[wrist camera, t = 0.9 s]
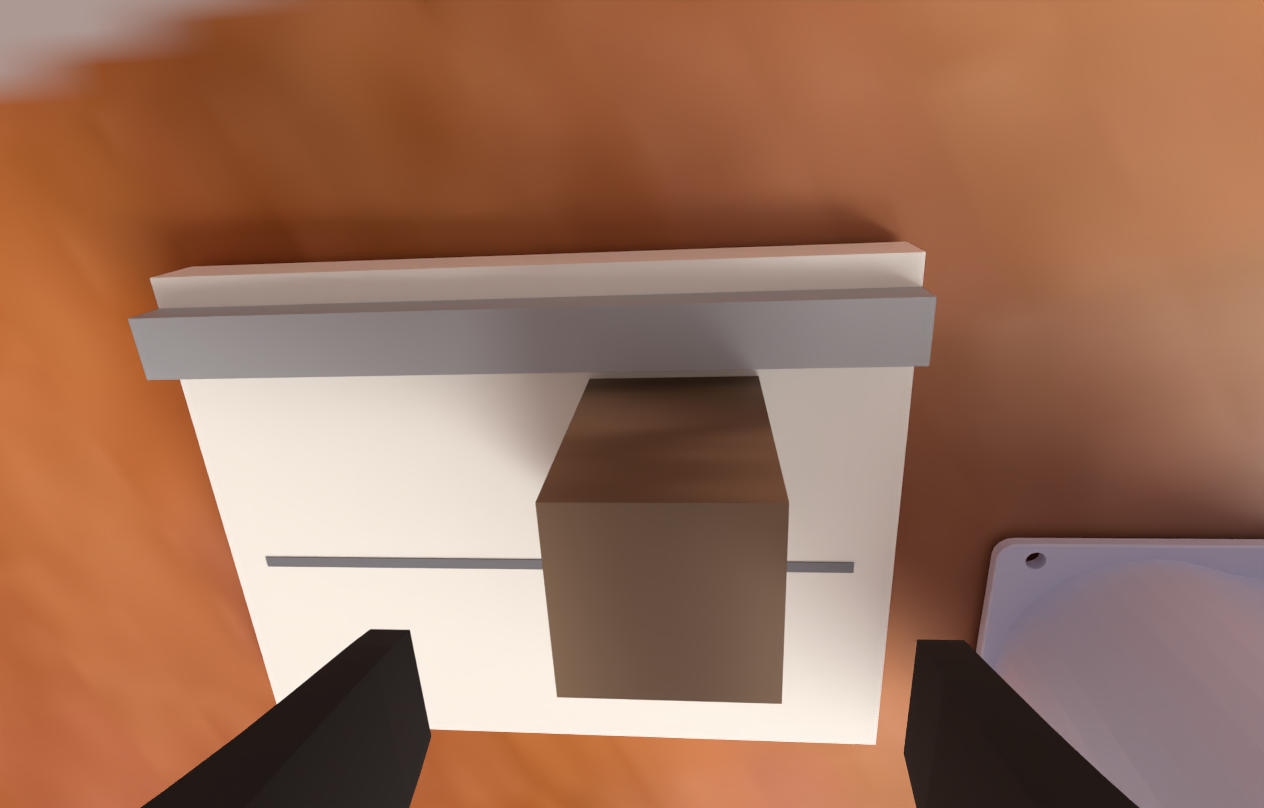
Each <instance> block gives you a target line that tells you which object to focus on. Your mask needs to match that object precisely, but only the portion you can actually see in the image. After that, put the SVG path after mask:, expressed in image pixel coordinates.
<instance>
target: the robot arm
mask: <svg viewBox="0 0 1264 808" xmlns="http://www.w3.org/2000/svg"><path fill="white" fill-rule="evenodd" d="M1037 552H1038V553H1039V555H1038V557H1037V558H1035V559H1034V560H1031V561H1026V559H1027V557H1028V556H1029V555H1031V554H1032V553H1037ZM430 739H431V732H430V727H429V722H428V717H427V712H426V708H425V703H424V698H423V693H422V688H421V683H420V678H419V673H418V668H417V663H416V658H415V653H414V648H413V643H412V638H411V633H410V630H395V629H370V630H368V631H367V632H366V633H364V634H363V635H362V636H360V637H359V638H358V639H357V640H355V641H354V642H353V643H351V644H350V645H349V646H348V647H346V648H345V649H344V650H343V651H341V652H340V653H339V654H338V655H337V656H335V657H334V658H333V659H332V660H330V661H329V662H328V663H327V664H326V665H324V666H323V667H322V668H321V669H319V670H318V671H317V672H316V673H315V674H313V675H312V676H311V677H310V678H309V679H307V680H306V681H305V682H304V683H302V684H301V685H300V686H299V687H298V688H296V689H295V690H294V691H293V692H291V693H290V694H289V695H288V696H286V697H285V698H284V699H283V700H282V701H280V702H279V703H278V704H277V705H275V706H274V707H273V708H272V709H270V710H269V711H268V712H267V713H265V714H264V715H263V716H262V717H260V718H259V719H258V720H257V721H255V722H254V723H253V724H252V725H250V726H249V727H248V728H247V729H246V730H244V731H243V732H242V733H240V734H239V735H238V736H237V737H235V738H234V739H233V740H231V741H230V742H229V743H227V744H226V745H225V746H223V747H222V748H221V749H219V750H218V751H217V752H215V753H214V754H213V755H211V756H210V757H209V758H207V759H206V760H205V761H203V762H202V763H201V764H199V765H198V766H197V767H195V768H194V769H193V770H191V771H190V772H189V773H187V774H186V775H185V776H183V777H182V778H181V779H179V780H178V781H177V782H175V783H174V784H173V785H171V786H170V787H169V788H167V789H166V790H165V791H163V792H162V793H161V794H159V795H158V796H156V797H155V798H153V799H152V800H151V801H149V802H148V803H146V804H145V805H144V806H142V807H141V808H409V807H410V803H411V800H412V797H413V794H414V791H415V788H416V785H417V782H418V779H419V776H420V773H421V769H422V766H423V762H424V759H425V756H426V752H427V749H428V746H429V742H430ZM904 756H905V760H906V765H907V769H908V773H909V778H910V782H911V786H912V791H913V795H914V799H915V803H916V807H917V808H1264V539H1145V538H1009V539H1005V540H1003V541H1001V542H999V543H998V544H997V545H996V546H995V547H994V549H993V551H992V555H991V561H990V567H989V573H988V579H987V586H986V592H985V598H984V604H983V611H982V617H981V623H980V629H979V636H978V642H977V648H976V652H975V651H974V650H973V649H972V648H971V647H970V646H969V645H968V644H967V643H966V642H965V641H964V640H917V647H916V655H915V664H914V672H913V680H912V688H911V697H910V705H909V713H908V722H907V730H906V738H905V747H904Z"/></svg>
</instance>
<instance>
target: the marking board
mask: <svg viewBox="0 0 1264 808" xmlns="http://www.w3.org/2000/svg"><path fill="white" fill-rule="evenodd" d="M925 256H926V252H925V251H923V250H921V249H920V248H918V247H916V246H914V245H912V244H910V243H908V242H879V243H851V244H822V245H794V246H765V247H736V248H708V249H679V250H651V251H622V252H593V253H565V254H536V255H508V256H479V257H450V258H422V259H393V260H365V261H336V262H307V263H279V264H250V265H222V266H193V267H188V268H184V269H181V270H177V271H173V272H170V273H166V274H162V275H159V276H155V277H151V278H150V281H151V284H152V288H153V291H154V294H155V298H156V301H157V304H158V308H159V309H156V310H153V311H150V312H147V313H144V314H141V315H138V316H135V317H132V318H129V319H128V321H129V324H130V327H131V330H132V334H133V337H134V340H135V343H136V346H137V349H138V353H139V356H140V359H141V362H142V365H143V368H144V372H145V375H146V378H147V380H179V379H180V381H181V385H182V388H183V391H184V395H185V398H186V401H187V405H188V408H189V412H190V415H191V418H192V422H193V425H194V428H195V432H196V435H197V438H198V442H199V445H200V448H201V452H202V455H203V458H204V462H205V465H206V468H207V472H208V475H209V479H210V482H211V485H212V489H213V492H214V495H215V499H216V502H217V505H218V509H219V512H220V515H221V519H222V522H223V525H224V529H225V532H226V536H227V539H228V542H229V546H230V549H231V552H232V556H233V559H234V562H235V566H236V569H237V572H238V576H239V579H240V582H241V586H242V589H243V592H244V596H245V599H246V603H247V606H248V609H249V613H250V616H251V619H252V623H253V626H254V629H255V633H256V636H257V639H258V643H259V646H260V649H261V653H262V656H263V660H264V663H265V666H266V670H267V673H268V676H269V680H270V683H271V686H272V690H273V693H274V696H275V700H276V703H277V704H278V703H279V702H280V701H282V700H283V699H284V698H285V697H286V696H288V695H289V694H290V693H291V692H293V691H294V690H295V689H296V688H298V687H299V686H300V685H301V684H302V683H304V682H305V681H306V680H307V679H309V678H310V677H311V676H312V675H313V674H315V673H316V672H317V671H318V670H319V669H321V668H322V667H323V666H324V665H326V664H327V663H328V662H329V661H330V660H332V659H333V658H334V657H335V656H337V655H338V654H339V653H340V652H341V651H343V650H344V649H345V648H346V647H348V646H349V645H350V644H351V643H353V642H354V641H355V640H357V639H358V638H359V637H360V636H362V635H363V634H364V633H366V632H367V631H368V630H370V629H395V630H410V633H411V638H412V643H413V648H414V653H415V658H416V663H417V668H418V673H419V678H420V683H421V688H422V693H423V698H424V703H425V708H426V712H427V717H428V722H429V727H430V729H440V730H469V731H498V732H527V733H555V734H584V735H613V736H642V737H670V738H699V739H728V740H757V741H785V742H814V743H843V744H872V745H876V736H877V726H878V716H879V706H880V697H881V687H882V677H883V667H884V657H885V648H886V638H887V628H888V618H889V608H890V599H891V589H892V579H893V569H894V559H895V550H896V540H897V530H898V520H899V511H900V501H901V491H902V481H903V471H904V462H905V452H906V442H907V432H908V422H909V413H910V403H911V393H912V383H913V373H914V367H915V366H929V363H930V354H931V345H932V336H933V326H934V317H935V308H936V299H937V297H936V296H935V295H934V294H932V293H931V292H929V291H928V290H926V289H925V288H924V287H922V285H923V276H924V266H925ZM721 376H759V380H760V384H761V388H762V392H763V396H764V400H765V404H766V409H767V413H768V417H769V421H770V425H771V429H772V433H773V438H774V442H775V446H776V450H777V454H778V458H779V462H780V467H781V471H782V475H783V479H784V483H785V487H786V491H787V496H788V500H789V524H788V550H787V577H786V604H785V631H784V658H783V685H782V704H766V703H732V702H698V701H664V700H630V699H596V698H562V697H557V693H556V684H555V675H554V666H553V657H552V648H551V639H550V630H549V621H548V612H547V603H546V595H545V586H544V577H543V568H542V559H541V550H540V541H539V532H538V523H537V514H536V505H535V502H536V500H537V497H538V495H539V493H540V491H541V488H542V486H543V484H544V481H545V479H546V477H547V475H548V472H549V470H550V468H551V465H552V463H553V461H554V459H555V456H556V454H557V452H558V449H559V447H560V445H561V443H562V440H563V438H564V436H565V433H566V431H567V429H568V427H569V424H570V422H571V420H572V418H573V415H574V413H575V411H576V408H577V406H578V404H579V402H580V399H581V397H582V395H583V392H584V390H585V388H586V386H587V383H588V381H589V379H602V378H661V377H721Z"/></svg>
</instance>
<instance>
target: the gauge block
mask: <svg viewBox="0 0 1264 808" xmlns="http://www.w3.org/2000/svg"><path fill="white" fill-rule="evenodd" d="M535 505H536V514H537V523H538V532H539V541H540V550H541V559H542V568H543V577H544V586H545V595H546V603H547V612H548V621H549V630H550V639H551V648H552V657H553V666H554V675H555V684H556V693H557V697H562V698H596V699H630V700H664V701H698V702H732V703H766V704H782V685H783V658H784V631H785V604H786V577H787V550H788V524H789V500H788V496H787V491H786V487H785V483H784V479H783V475H782V471H781V467H780V462H779V458H778V454H777V450H776V446H775V442H774V438H773V433H772V429H771V425H770V421H769V417H768V413H767V409H766V404H765V400H764V396H763V392H762V388H761V384H760V380H759V376H721V377H661V378H602V379H589V381H588V383H587V386H586V388H585V390H584V392H583V395H582V397H581V399H580V402H579V404H578V406H577V408H576V411H575V413H574V415H573V418H572V420H571V422H570V424H569V427H568V429H567V431H566V433H565V436H564V438H563V440H562V443H561V445H560V447H559V449H558V452H557V454H556V456H555V459H554V461H553V463H552V465H551V468H550V470H549V472H548V475H547V477H546V479H545V481H544V484H543V486H542V488H541V491H540V493H539V495H538V497H537V500H536V502H535Z"/></svg>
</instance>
